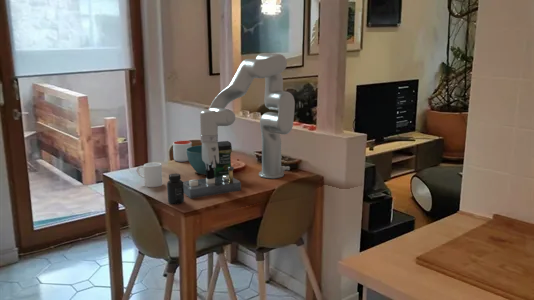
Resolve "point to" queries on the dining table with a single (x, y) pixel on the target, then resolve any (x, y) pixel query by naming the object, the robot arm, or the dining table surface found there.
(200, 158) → the teal bowl
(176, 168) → the dining table surface
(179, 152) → the cup
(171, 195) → the supplement bottle
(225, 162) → the coffee jar
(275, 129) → the robot arm
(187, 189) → the mount
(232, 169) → the post
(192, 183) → the knob far
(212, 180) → the knob mid
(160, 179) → the mug
